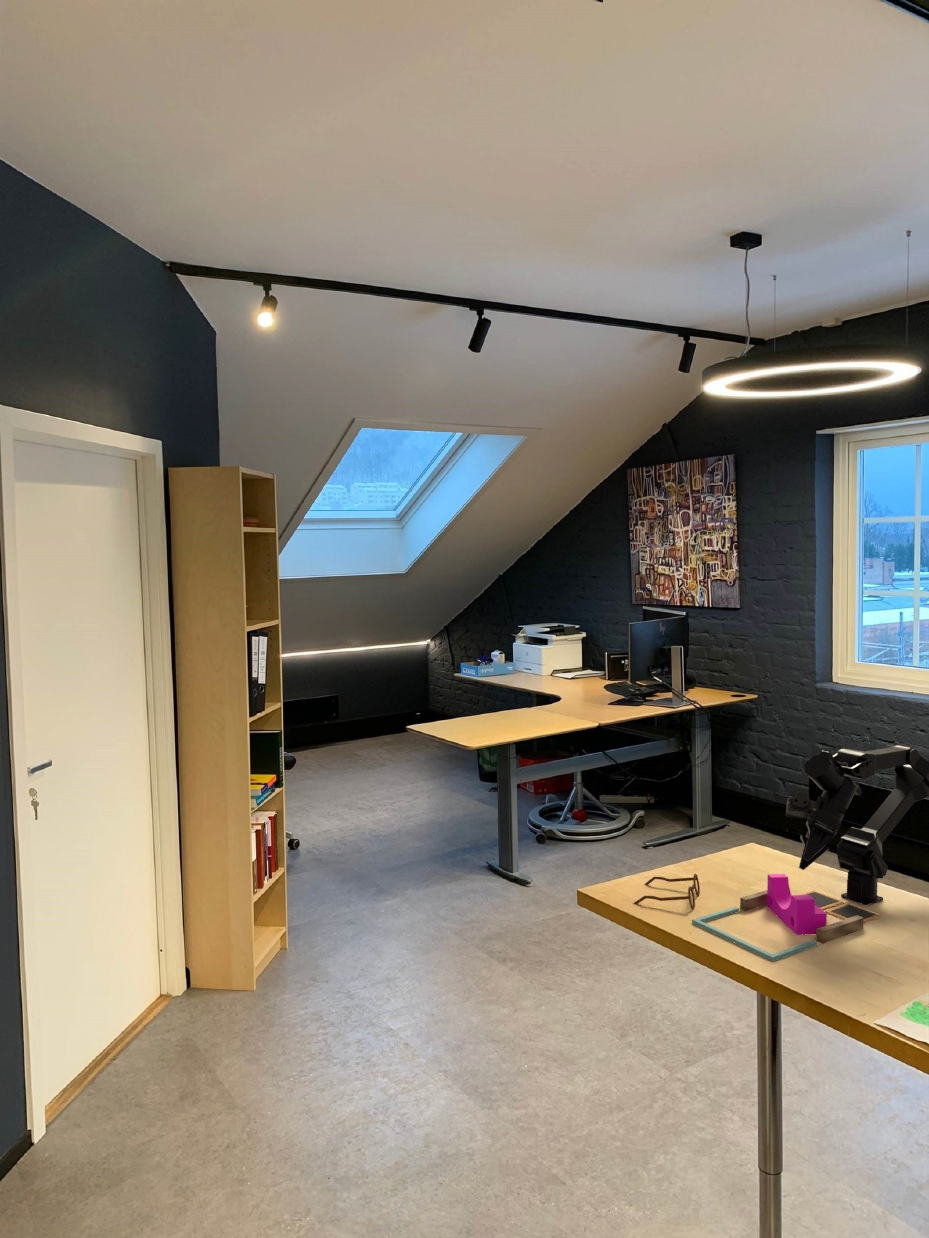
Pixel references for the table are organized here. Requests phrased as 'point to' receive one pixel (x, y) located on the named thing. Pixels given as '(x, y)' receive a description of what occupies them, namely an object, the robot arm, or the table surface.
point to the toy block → (793, 907)
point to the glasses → (694, 878)
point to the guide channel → (822, 933)
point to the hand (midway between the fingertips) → (803, 864)
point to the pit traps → (841, 907)
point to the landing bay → (744, 944)
